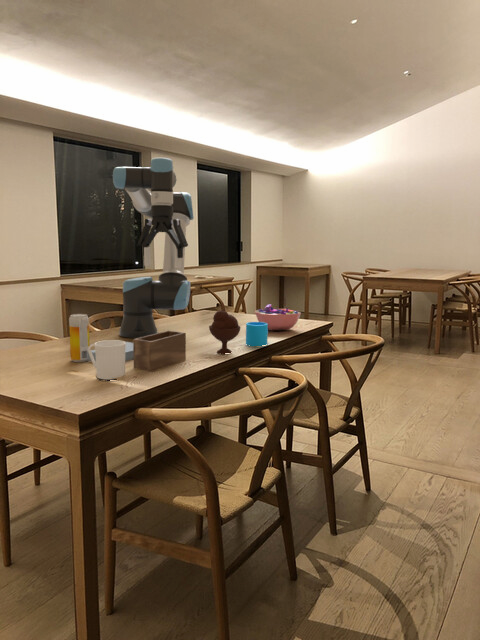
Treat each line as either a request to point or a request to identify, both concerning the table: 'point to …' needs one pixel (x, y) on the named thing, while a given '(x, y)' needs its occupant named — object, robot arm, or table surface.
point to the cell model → (277, 318)
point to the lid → (128, 352)
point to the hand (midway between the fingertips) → (162, 266)
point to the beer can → (79, 337)
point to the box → (159, 350)
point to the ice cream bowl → (224, 329)
